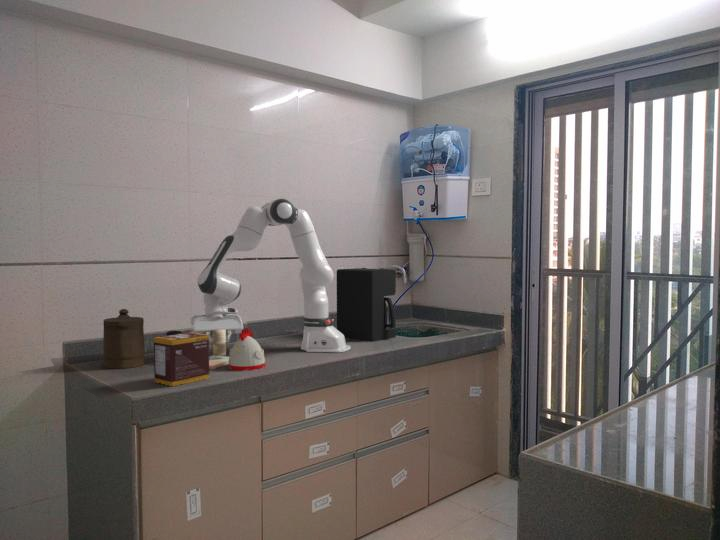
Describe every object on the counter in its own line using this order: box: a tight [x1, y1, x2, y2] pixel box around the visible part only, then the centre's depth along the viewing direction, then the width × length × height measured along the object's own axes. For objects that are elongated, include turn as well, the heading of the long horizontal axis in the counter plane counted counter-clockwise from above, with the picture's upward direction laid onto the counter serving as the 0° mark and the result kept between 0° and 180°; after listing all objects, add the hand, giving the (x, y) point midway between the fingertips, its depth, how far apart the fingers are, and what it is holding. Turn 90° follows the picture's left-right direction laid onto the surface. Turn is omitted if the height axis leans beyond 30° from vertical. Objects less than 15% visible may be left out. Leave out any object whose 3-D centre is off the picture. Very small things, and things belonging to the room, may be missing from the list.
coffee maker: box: [336, 267, 397, 343], centre depth 288 cm, size 28×20×35 cm
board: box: [209, 354, 230, 370], centre depth 224 cm, size 12×18×1 cm, turn 161°
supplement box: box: [153, 331, 210, 387], centre depth 195 cm, size 10×15×16 cm
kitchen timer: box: [227, 327, 266, 372], centre depth 218 cm, size 14×14×15 cm
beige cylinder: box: [212, 329, 227, 356], centre depth 228 cm, size 5×5×10 cm
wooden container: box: [102, 308, 146, 370], centre depth 222 cm, size 15×15×22 cm
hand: (219, 341), depth 228 cm, fingers closed on beige cylinder, 5 cm apart
